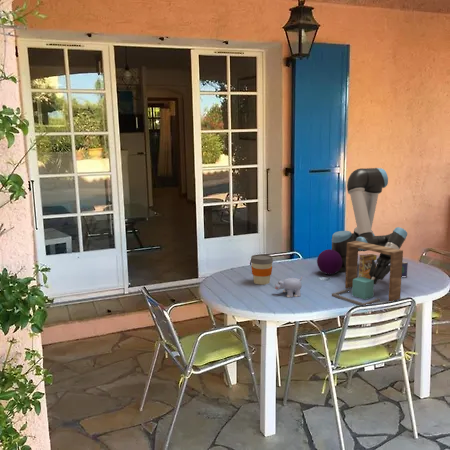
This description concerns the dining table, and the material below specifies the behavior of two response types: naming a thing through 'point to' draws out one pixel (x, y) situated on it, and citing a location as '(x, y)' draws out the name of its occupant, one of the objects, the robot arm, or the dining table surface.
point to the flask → (404, 268)
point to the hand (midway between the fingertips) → (368, 288)
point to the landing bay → (351, 299)
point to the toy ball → (329, 261)
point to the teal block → (363, 287)
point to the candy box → (366, 265)
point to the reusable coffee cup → (261, 268)
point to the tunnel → (395, 253)
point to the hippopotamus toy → (290, 286)
